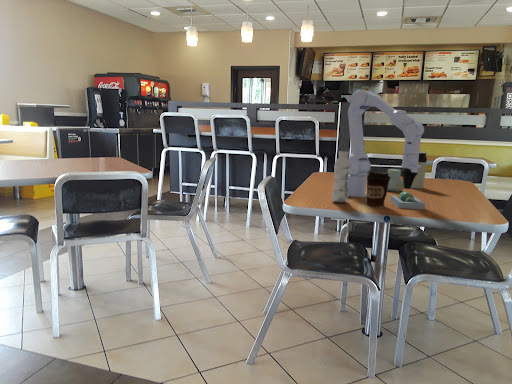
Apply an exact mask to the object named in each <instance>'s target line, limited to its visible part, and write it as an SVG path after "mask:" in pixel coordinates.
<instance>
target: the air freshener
mask: <svg viewBox="0 0 512 384" xmlns="http://www.w3.org/2000/svg"><path fill="white" fill-rule="evenodd" d="M401 170H402V169H397V168H396V169H395V168H388V169H387V172H386V173H389V175H388V176H390V181H389V183H388V189H387V192H392V193H399V192H402V191H404V189H405V188H404V184H403V179H401V176H402V173H401Z"/></svg>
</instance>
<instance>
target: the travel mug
mask: <svg viewBox="0 0 512 384" xmlns="http://www.w3.org/2000/svg"><path fill="white" fill-rule="evenodd" d="M427 153H428V152H427V151H422V150H421V151H420V150H419V159H418V165H419V166H421V168H418V174H417V175H416V177H415V178H414V180H413V183H412V186H411V188H410V189H413V190H419V189H420V190H422V189H424V187H425V179H426V178H425V177H426V171H427V170H426V169H427V161H428V158H427Z"/></svg>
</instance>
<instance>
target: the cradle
mask: <svg viewBox="0 0 512 384" xmlns="http://www.w3.org/2000/svg"><path fill="white" fill-rule="evenodd" d="M413 197H414V202H403V201H401V200H400V199H399V196H396V195H395V194H394V195H393V194H391V195H390V198H389V201H390V202H391V203H392V204H394V205H395V206H396V207H397V208H398V209H406V210H407V209H409V210H410V209H411V210H425V208H426V203H424V202H423V201H422V200H420V199H419V198H417V197H416V196H413Z"/></svg>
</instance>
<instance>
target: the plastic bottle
mask: <svg viewBox="0 0 512 384" xmlns="http://www.w3.org/2000/svg"><path fill="white" fill-rule="evenodd" d="M348 158H349V151H346V150H339V151H338V158H337V159H336V160H335V163H334V167H333V168H334V170H333V171H334V183H333V188H332V189H333V190H332V193H331V199H332V201H333V202H335V203H347V201H348V200H349V197H350V196H349V195H348V179H349V173H350V168H351V163H350V161H349V159H348Z"/></svg>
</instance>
